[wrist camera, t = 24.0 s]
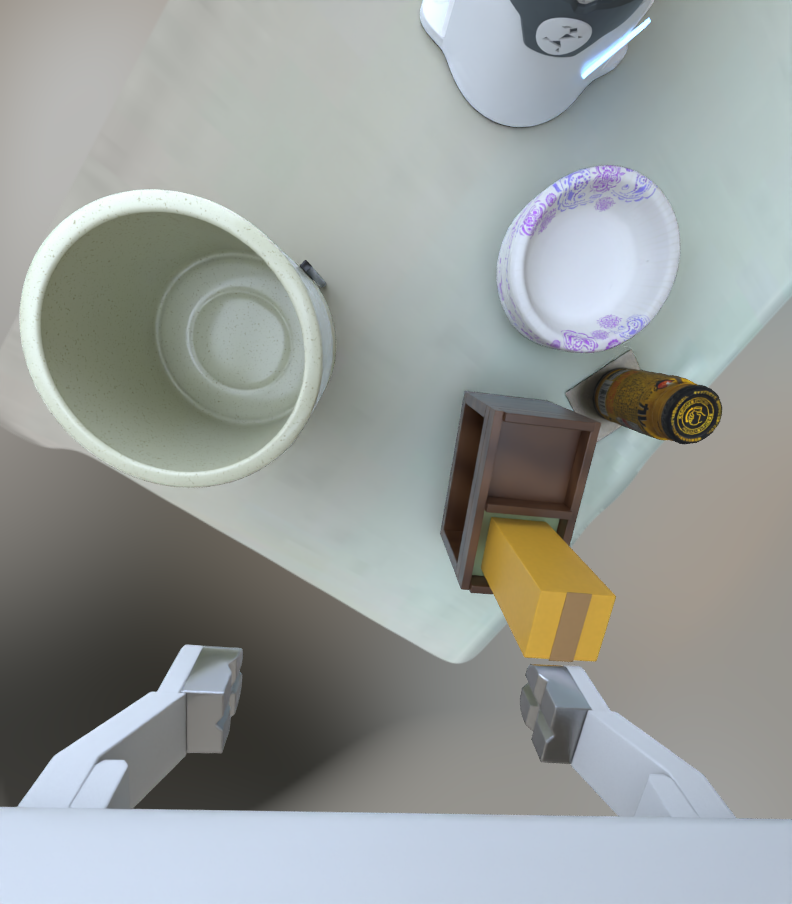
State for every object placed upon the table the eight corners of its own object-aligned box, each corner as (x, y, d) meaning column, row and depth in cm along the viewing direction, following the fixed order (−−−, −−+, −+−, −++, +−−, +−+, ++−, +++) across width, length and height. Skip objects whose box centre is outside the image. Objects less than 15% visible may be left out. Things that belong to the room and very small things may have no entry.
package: (491, 516, 41) (541, 590, 30) (546, 520, 42) (617, 596, 30) (480, 568, 43) (524, 659, 31) (534, 572, 43) (596, 663, 32)
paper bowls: (534, 377, 48) (566, 386, 40) (458, 254, 44) (479, 240, 36) (654, 291, 46) (711, 284, 39) (587, 155, 42) (637, 119, 35)
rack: (464, 390, 48) (497, 411, 36) (547, 400, 49) (604, 424, 37) (440, 533, 53) (462, 592, 41) (516, 540, 54) (558, 599, 42)
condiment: (656, 403, 50) (744, 426, 38) (591, 444, 51) (659, 478, 39) (630, 348, 48) (715, 356, 36) (563, 392, 49) (626, 413, 37)
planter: (376, 339, 46) (390, 353, 24) (269, 440, 48) (191, 538, 26) (267, 217, 42) (163, 98, 20) (157, 333, 44) (-49, 342, 22)
